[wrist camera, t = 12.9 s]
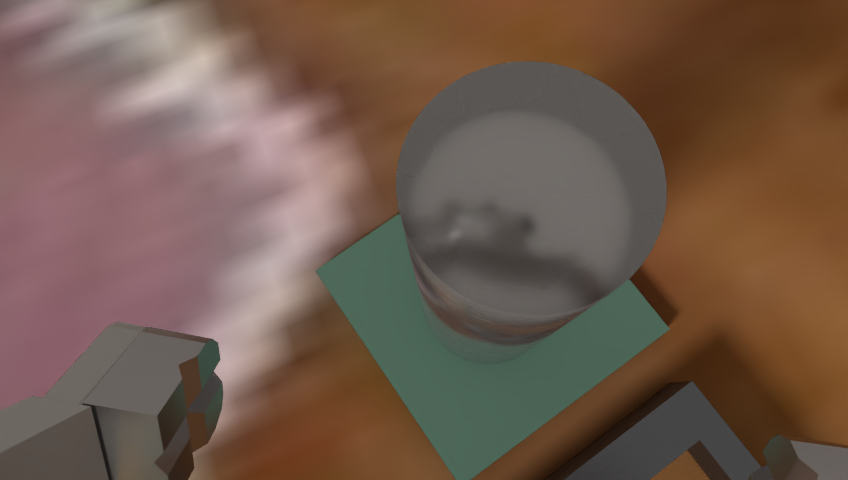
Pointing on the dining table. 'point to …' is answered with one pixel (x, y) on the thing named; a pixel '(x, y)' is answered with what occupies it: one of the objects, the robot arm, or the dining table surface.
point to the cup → (525, 204)
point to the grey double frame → (663, 441)
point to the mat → (467, 381)
